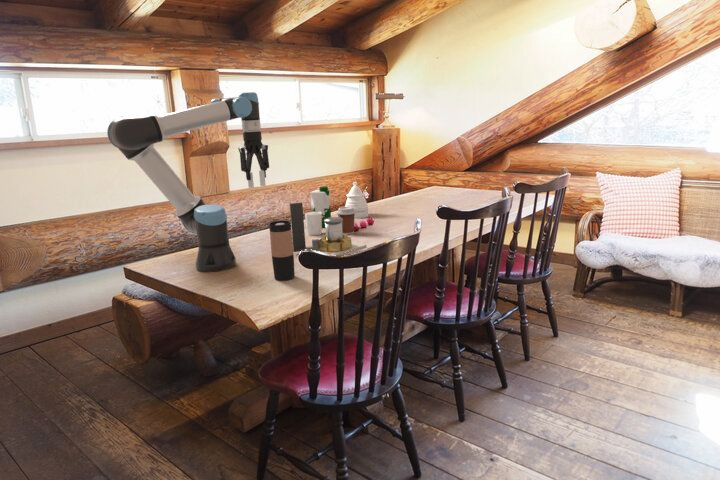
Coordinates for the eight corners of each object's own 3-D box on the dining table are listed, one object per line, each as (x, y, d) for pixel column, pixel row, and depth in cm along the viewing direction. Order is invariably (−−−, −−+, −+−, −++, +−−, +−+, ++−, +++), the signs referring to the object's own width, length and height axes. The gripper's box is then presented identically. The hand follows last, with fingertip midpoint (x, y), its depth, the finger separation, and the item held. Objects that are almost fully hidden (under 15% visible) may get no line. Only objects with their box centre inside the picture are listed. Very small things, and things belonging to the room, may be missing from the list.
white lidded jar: (334, 252, 218) (332, 221, 215) (322, 249, 223) (320, 219, 220) (347, 248, 223) (346, 218, 220) (335, 246, 228) (333, 216, 225)
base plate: (329, 258, 210) (329, 255, 210) (302, 251, 222) (302, 249, 222) (366, 246, 225) (365, 244, 225) (338, 241, 237) (338, 238, 236)
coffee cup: (334, 234, 249) (333, 209, 246) (342, 230, 257) (340, 205, 254) (352, 235, 246) (351, 210, 243) (359, 230, 254) (358, 206, 251)
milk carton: (326, 228, 262) (324, 188, 257) (310, 227, 265) (307, 188, 260) (334, 224, 270) (331, 185, 265) (318, 224, 273) (315, 185, 268)
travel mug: (269, 280, 187) (264, 224, 182) (280, 273, 194) (275, 220, 189) (289, 281, 184) (284, 225, 179) (299, 275, 191) (294, 220, 186)
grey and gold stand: (318, 258, 207) (314, 207, 202) (291, 251, 219) (288, 203, 214) (358, 245, 223) (356, 198, 218) (331, 240, 234) (329, 195, 229)
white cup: (320, 235, 248) (319, 214, 246) (304, 235, 250) (302, 214, 247) (324, 231, 256) (323, 211, 253) (309, 231, 257) (307, 211, 255)
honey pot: (344, 214, 295) (342, 182, 290) (367, 212, 296) (365, 180, 291) (346, 219, 282) (344, 185, 278) (370, 217, 283) (368, 183, 279)
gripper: (238, 132, 211) (244, 190, 216) (275, 129, 223) (279, 184, 229) (227, 132, 216) (233, 189, 222) (264, 129, 229) (269, 183, 234)
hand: (257, 186), depth 225 cm, fingers open, 5 cm apart
